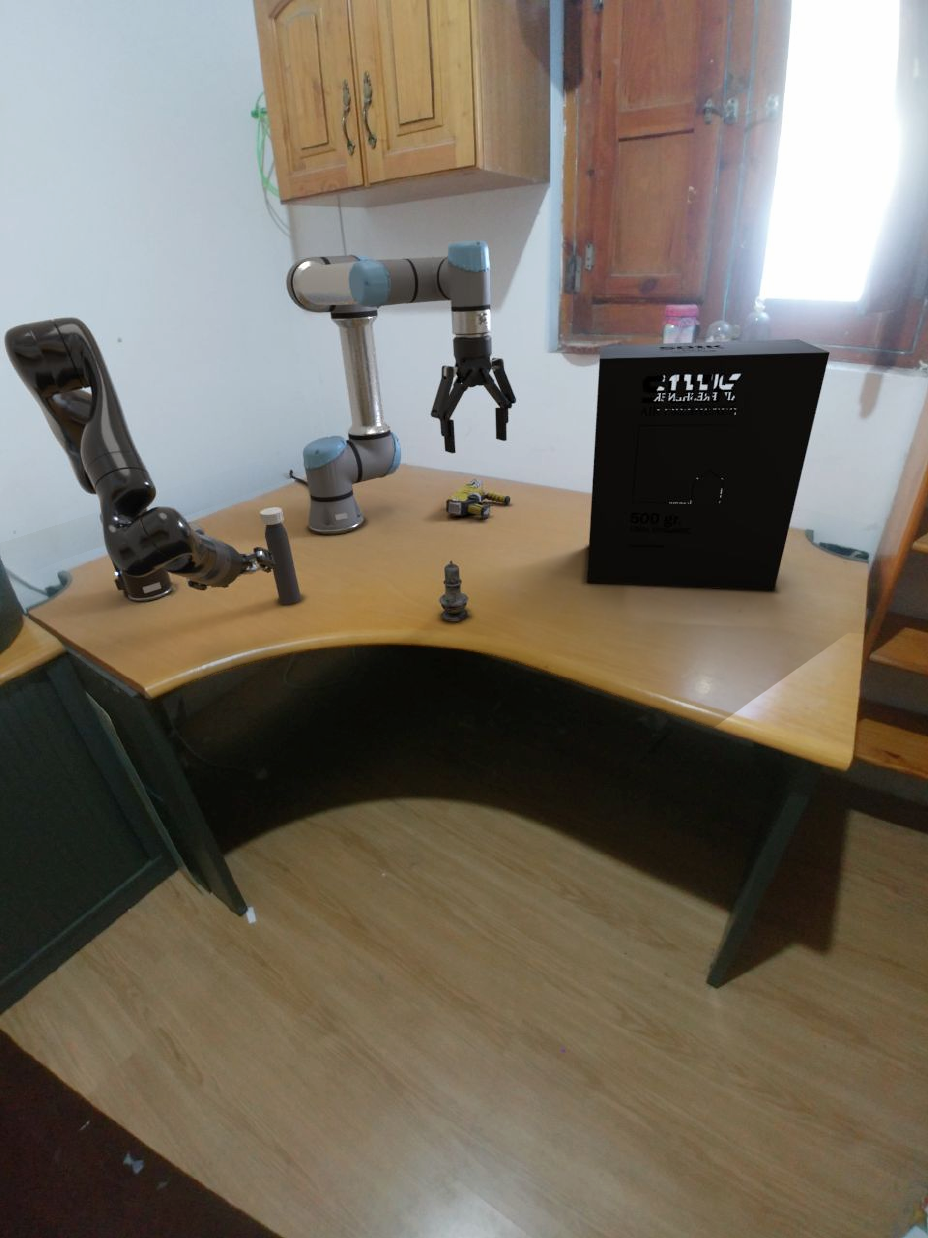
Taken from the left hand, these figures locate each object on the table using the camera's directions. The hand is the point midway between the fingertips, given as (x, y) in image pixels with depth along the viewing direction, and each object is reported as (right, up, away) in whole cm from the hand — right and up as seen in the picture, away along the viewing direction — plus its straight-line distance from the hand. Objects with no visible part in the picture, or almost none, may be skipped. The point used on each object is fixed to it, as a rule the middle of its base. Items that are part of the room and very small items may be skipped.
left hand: (246, 574), depth 113 cm
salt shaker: (+39, -8, +9) cm, 40 cm away
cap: (+2, +13, +9) cm, 16 cm away
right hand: (+43, +28, +15) cm, 54 cm away
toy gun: (+46, +25, +64) cm, 83 cm away
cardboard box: (+88, +4, +23) cm, 91 cm away
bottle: (+3, -4, +19) cm, 19 cm away
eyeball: (-32, +12, +50) cm, 60 cm away
